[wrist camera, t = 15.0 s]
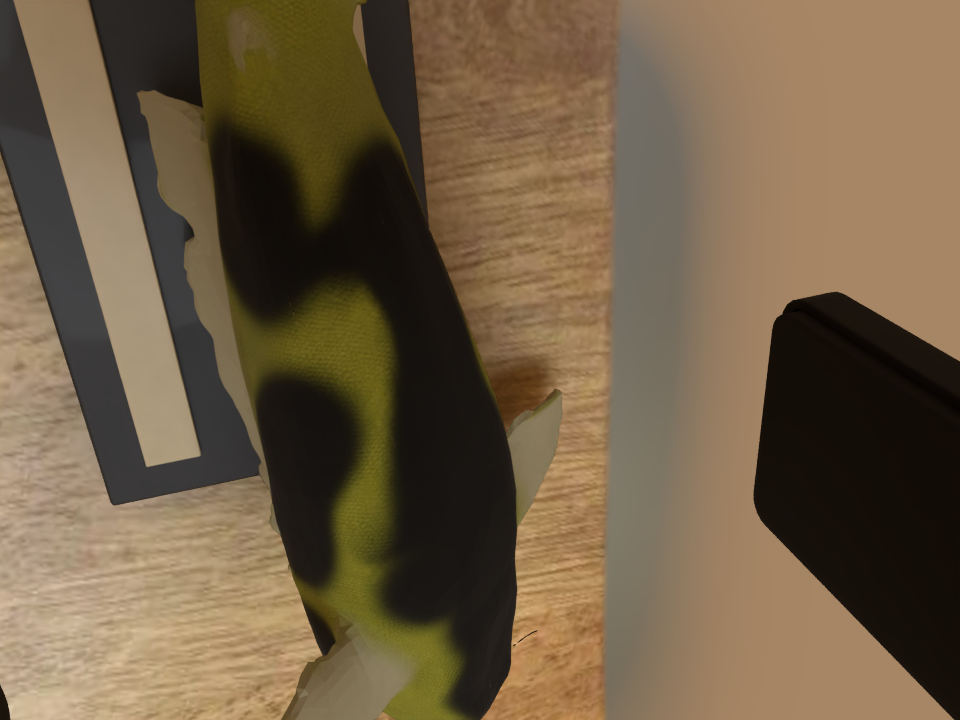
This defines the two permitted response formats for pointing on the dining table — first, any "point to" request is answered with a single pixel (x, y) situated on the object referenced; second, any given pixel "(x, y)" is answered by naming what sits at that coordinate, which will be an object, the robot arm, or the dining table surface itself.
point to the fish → (349, 365)
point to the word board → (139, 222)
